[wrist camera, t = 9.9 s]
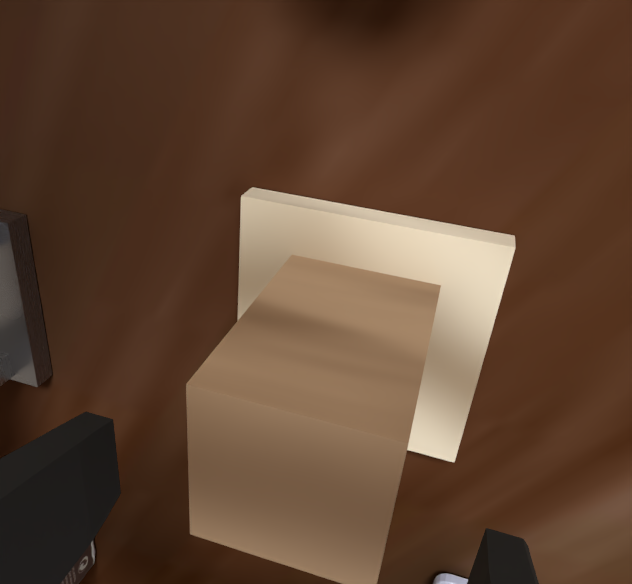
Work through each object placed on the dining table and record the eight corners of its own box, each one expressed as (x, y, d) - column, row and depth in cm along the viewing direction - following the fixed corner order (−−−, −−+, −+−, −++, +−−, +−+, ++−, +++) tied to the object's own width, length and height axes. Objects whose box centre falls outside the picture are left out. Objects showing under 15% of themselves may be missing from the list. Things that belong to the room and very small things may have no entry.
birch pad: (456, 444, 17) (454, 462, 17) (244, 389, 19) (235, 403, 18) (514, 235, 14) (515, 247, 13) (252, 187, 16) (240, 195, 15)
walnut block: (413, 407, 16) (374, 594, 11) (282, 374, 17) (190, 534, 12) (441, 285, 14) (408, 443, 9) (291, 254, 15) (186, 384, 10)
